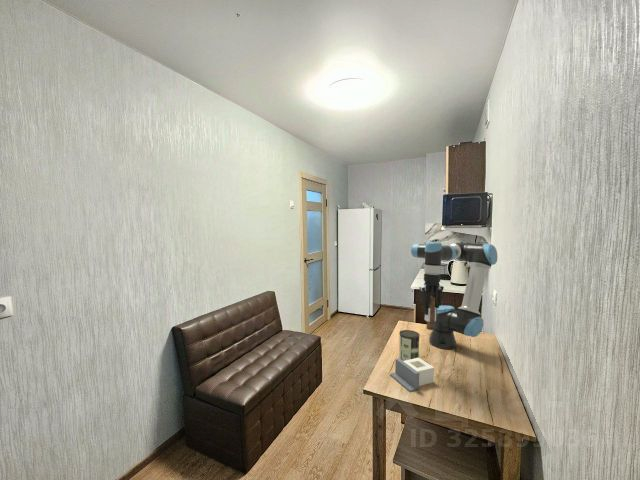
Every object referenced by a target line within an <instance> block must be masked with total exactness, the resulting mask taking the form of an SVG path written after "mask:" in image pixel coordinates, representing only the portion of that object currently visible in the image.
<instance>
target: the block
mask: <svg viewBox="0 0 640 480" xmlns="http://www.w3.org/2000/svg"><path fill="white" fill-rule="evenodd" d="M403 362H405V363H406V364H408V365H409V366H410V367H412V368H413V369H414V370H416V371H417V372H419V387H422V386H424V385H429V384H433V383H435V382H434V380H435V379H434V378H435V376H434V375H435V366H432V365H431V364H429V363H428V362H426V361H425V360H423V359H422V358H421V357H419V358H414V359H410V360H405V361H403Z"/></svg>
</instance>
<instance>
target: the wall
mask: <svg viewBox="0 0 640 480" xmlns="http://www.w3.org/2000/svg"><path fill="white" fill-rule="evenodd" d="M394 367H395V368H394V369H395V372H392V373H389V376H391V378H393V379H394V380H395V381H396V382H397V383H398V384H400V385H401V386H402V387H403V388H404V389H405V390H406V391H408V392H409V393H411V392H415V391H419V388H420V386H419V372H417V371H416V370H414V369H413V368H412V367H410V366H409V365H408V364H406V363H405V362H403V361H402V360H401V359H400V358H399V357H398V358H395V365H394Z"/></svg>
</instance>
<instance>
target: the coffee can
mask: <svg viewBox="0 0 640 480" xmlns="http://www.w3.org/2000/svg"><path fill="white" fill-rule="evenodd" d="M398 334H399V351H398V352H399V354H398V358H399V359H401V360H402V361H405V360H410V359H414V358H420V357H419V356H420V355H419V354H420V333H419V332H417V331H414V330H411V329H403V330H400V331H399V333H398Z"/></svg>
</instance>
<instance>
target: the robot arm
mask: <svg viewBox="0 0 640 480" xmlns="http://www.w3.org/2000/svg"><path fill="white" fill-rule="evenodd" d="M410 253H411V256H412V257H413V258H418V259H424V268H423V272H424V273H423V281H424V284H423V286H419V289H418V290H419V291H420V293H419V294H420V307H423V314H424V321H426V322H427V321H428V322H430V308H429V305H430V299H431V296H433V297H435V310H434V329H433V330H431V332H430V335H429V337H428V338H429V340H428V342H429V344H431V345H432V346H433V347H436V348H437V349H438V348H439V349H443V350H452V349H456V348H457V340H456V337H455V334H454V332H456V333H459V334H462V335H464V336H466V337H470V338H476V337H478V336H479V335H480V334H481V332H482V330H483V327H484V319H483V318H482V317H481V315H482V314H481V312H480V311H479V310H480V306H481V300H482V295H483V290H484V286H485V282H486V277H487V272H488V271H489V270H490V269H491V268H492V266H494V265H496V264H497V263H498V251H497V248H496V246H494V244H492V243H490V244H489V243H476V242H475V243H474V242H459V243H450V244H443V243H442V242H437V241H427V242H426V243H425V244H422V243H416V244H413V245H411V249H410ZM452 260H457V261H461V262H467V263H468V265H469V267H470V268H469V270H468V271H469V272H468V276H467V279H466V286H465V290H464V294H463V299H462V303H461V306H459V307H457V310H455V307H454V306H453V305H442V299H443V298H442V297H443V291H444V286H443V285H440V282H441V273H442V262H443V261H444V262H445V261H447V262H448V261H452Z"/></svg>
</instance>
